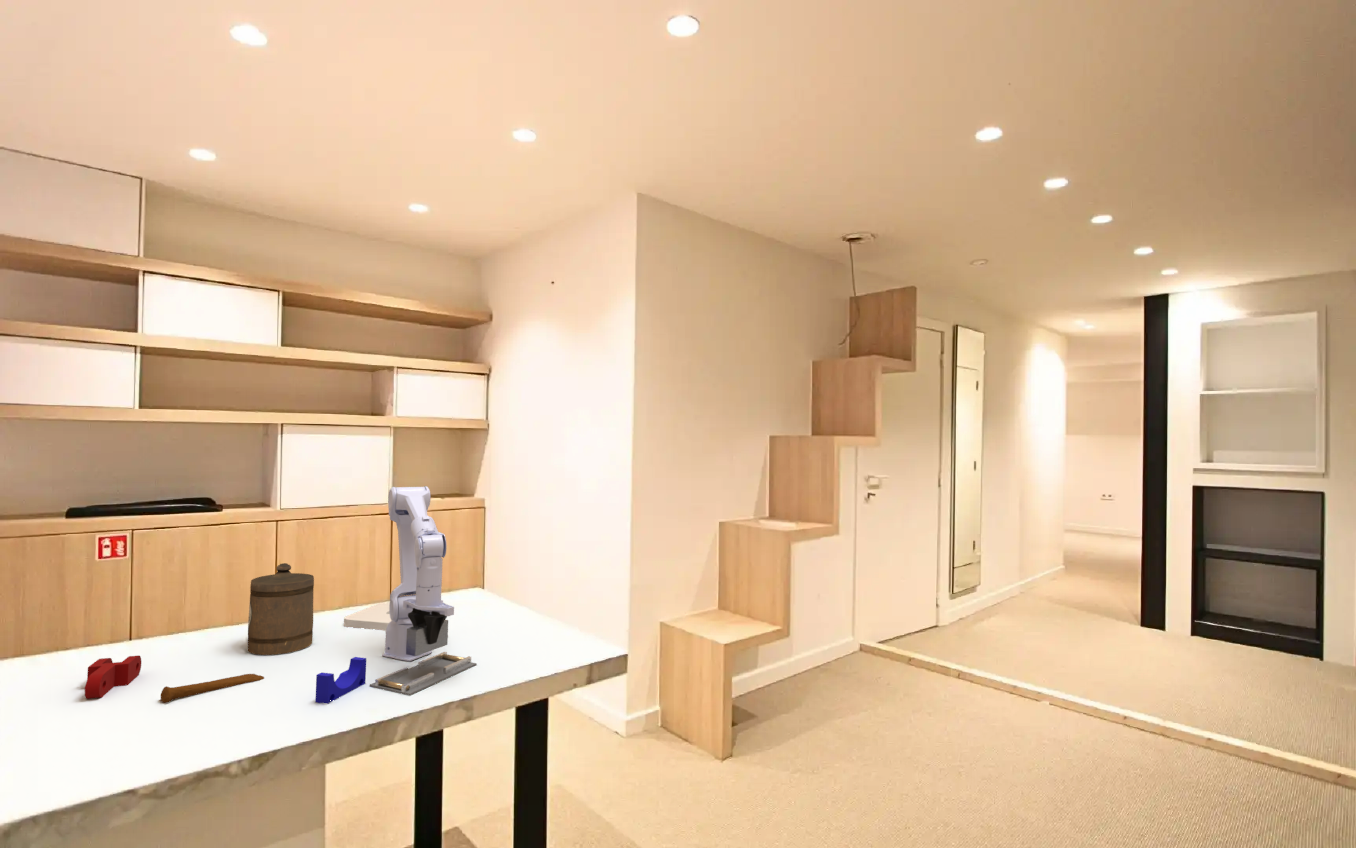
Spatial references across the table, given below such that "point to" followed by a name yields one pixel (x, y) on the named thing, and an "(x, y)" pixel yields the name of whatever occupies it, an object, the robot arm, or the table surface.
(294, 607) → the wooden container
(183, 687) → the primitive tool
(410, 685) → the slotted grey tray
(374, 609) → the tapered beige board
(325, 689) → the blue cradle bracket
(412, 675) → the grey slide base plate
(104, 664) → the mechanical linkage
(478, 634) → the table surface
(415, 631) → the dark gray rectangular chunk
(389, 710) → the table surface
